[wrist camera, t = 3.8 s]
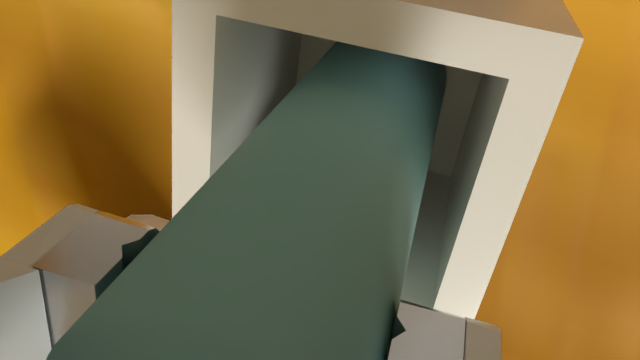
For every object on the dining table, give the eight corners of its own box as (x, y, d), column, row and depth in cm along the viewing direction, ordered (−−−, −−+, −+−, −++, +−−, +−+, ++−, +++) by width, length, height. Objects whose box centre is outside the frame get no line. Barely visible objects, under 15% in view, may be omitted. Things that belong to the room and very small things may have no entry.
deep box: (546, -29, 16) (584, 38, 10) (471, 194, 21) (462, 350, 14) (293, -76, 18) (172, -46, 11) (270, 142, 22) (171, 262, 15)
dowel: (460, 31, 17) (390, 391, 5) (429, 145, 19) (328, 589, 7) (336, 5, 18) (21, 272, 6) (319, 118, 20) (60, 485, 8)
